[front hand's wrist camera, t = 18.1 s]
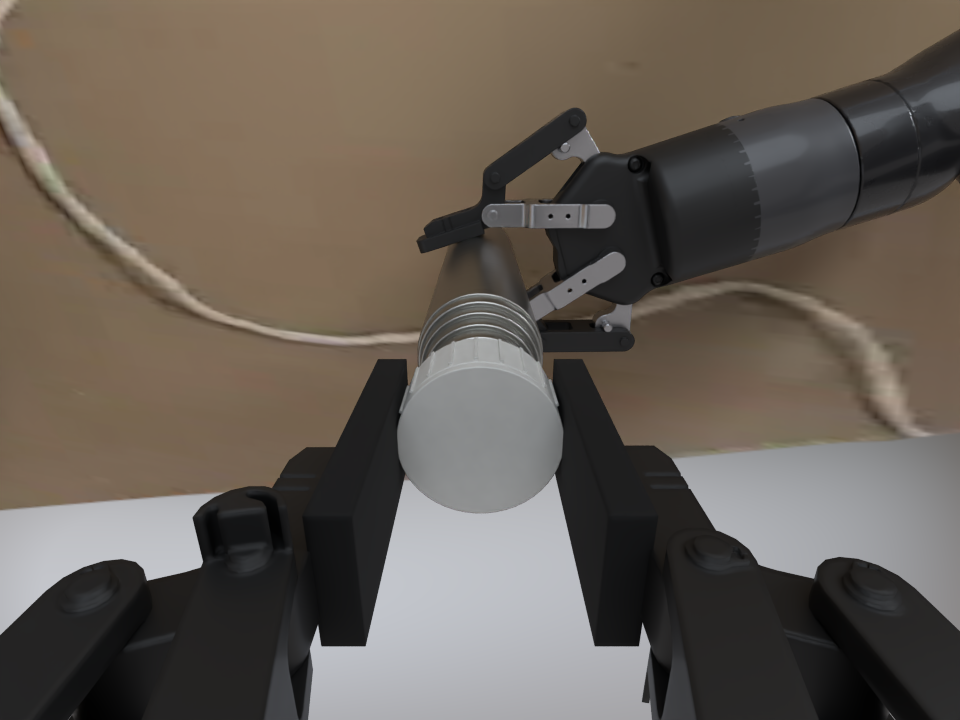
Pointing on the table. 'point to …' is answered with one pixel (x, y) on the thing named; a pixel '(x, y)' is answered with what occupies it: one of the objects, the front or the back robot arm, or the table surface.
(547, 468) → the cap
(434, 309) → the bottle
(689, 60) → the table surface
